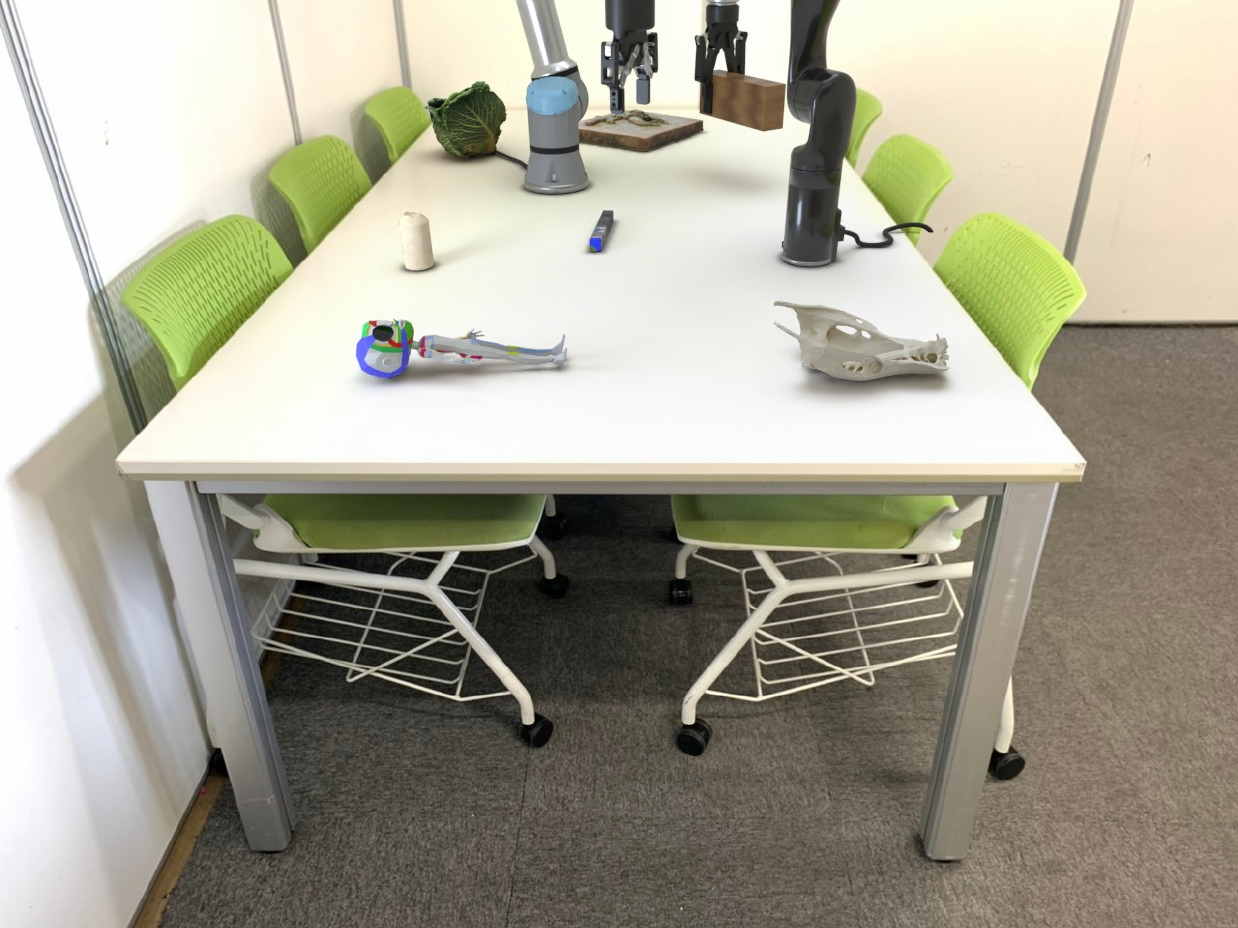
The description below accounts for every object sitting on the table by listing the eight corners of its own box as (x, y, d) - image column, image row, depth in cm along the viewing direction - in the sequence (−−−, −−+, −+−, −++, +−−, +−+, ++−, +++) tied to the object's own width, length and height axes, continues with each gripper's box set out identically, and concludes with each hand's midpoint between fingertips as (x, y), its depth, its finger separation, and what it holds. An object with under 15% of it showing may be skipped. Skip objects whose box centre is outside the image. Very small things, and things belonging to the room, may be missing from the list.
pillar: (613, 210, 190) (600, 241, 173) (613, 220, 191) (600, 251, 174) (603, 210, 190) (589, 240, 173) (603, 220, 191) (589, 251, 174)
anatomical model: (773, 291, 133) (948, 293, 129) (771, 347, 137) (939, 351, 134) (773, 333, 120) (966, 337, 116) (770, 393, 125) (955, 399, 121)
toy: (569, 347, 126) (349, 329, 122) (563, 400, 131) (350, 385, 126) (565, 318, 135) (359, 301, 130) (559, 369, 139) (360, 354, 134)
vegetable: (457, 176, 250) (415, 110, 242) (515, 138, 251) (474, 71, 243) (465, 176, 232) (420, 104, 224) (527, 135, 233) (484, 62, 225)
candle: (439, 262, 170) (432, 209, 165) (425, 272, 166) (417, 218, 161) (414, 259, 172) (406, 207, 167) (399, 269, 168) (391, 216, 162)
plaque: (647, 125, 237) (559, 112, 252) (647, 153, 241) (560, 139, 256) (706, 107, 258) (622, 97, 273) (705, 133, 262) (622, 121, 277)
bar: (699, 113, 217) (700, 71, 212) (717, 110, 219) (719, 69, 215) (763, 131, 199) (766, 86, 194) (782, 128, 201) (786, 84, 196)
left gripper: (698, 7, 196) (695, 119, 208) (765, 2, 204) (759, 109, 216) (679, 5, 201) (677, 113, 214) (745, -1, 209) (740, 105, 222)
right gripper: (629, -1, 127) (629, 119, 135) (673, -10, 137) (671, 103, 146) (583, -3, 130) (587, 115, 139) (630, -11, 140) (631, 99, 149)
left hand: (718, 111), depth 215 cm, fingers closed on bar, 5 cm apart
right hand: (630, 108), depth 142 cm, fingers open, 8 cm apart
